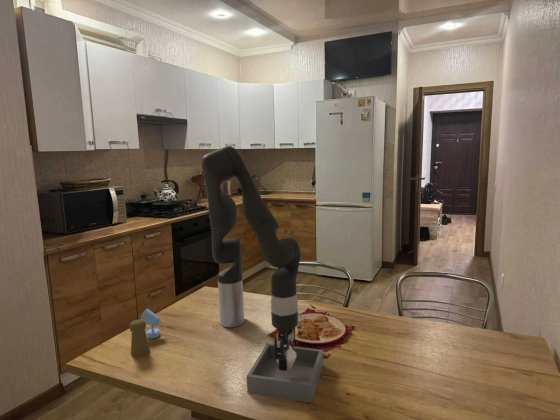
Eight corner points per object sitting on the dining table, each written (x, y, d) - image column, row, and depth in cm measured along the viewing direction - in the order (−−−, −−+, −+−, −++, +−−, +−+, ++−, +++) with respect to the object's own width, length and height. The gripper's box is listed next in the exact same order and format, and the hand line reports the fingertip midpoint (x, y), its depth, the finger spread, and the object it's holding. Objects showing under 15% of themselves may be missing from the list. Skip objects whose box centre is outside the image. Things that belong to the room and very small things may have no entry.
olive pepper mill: (143, 357, 125) (140, 325, 123) (127, 355, 126) (123, 324, 124) (153, 347, 130) (150, 317, 129) (137, 346, 132) (134, 316, 130)
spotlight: (139, 337, 138) (157, 339, 136) (137, 311, 136) (154, 313, 135) (147, 331, 142) (164, 332, 141) (144, 306, 141) (161, 307, 139)
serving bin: (267, 357, 122) (266, 343, 121) (323, 365, 117) (322, 349, 116) (247, 392, 105) (246, 376, 104) (311, 402, 100) (311, 385, 99)
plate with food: (266, 339, 136) (266, 329, 135) (308, 311, 156) (308, 303, 155) (325, 362, 121) (325, 352, 120) (363, 327, 141) (363, 319, 140)
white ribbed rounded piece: (298, 371, 108) (298, 348, 107) (277, 374, 107) (276, 350, 106) (294, 359, 114) (293, 337, 113) (274, 362, 113) (273, 340, 112)
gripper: (278, 297, 115) (280, 349, 118) (263, 318, 102) (266, 375, 104) (303, 299, 113) (304, 352, 116) (290, 321, 99) (292, 379, 102)
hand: (286, 363), depth 110 cm, fingers closed on white ribbed rounded piece, 6 cm apart
